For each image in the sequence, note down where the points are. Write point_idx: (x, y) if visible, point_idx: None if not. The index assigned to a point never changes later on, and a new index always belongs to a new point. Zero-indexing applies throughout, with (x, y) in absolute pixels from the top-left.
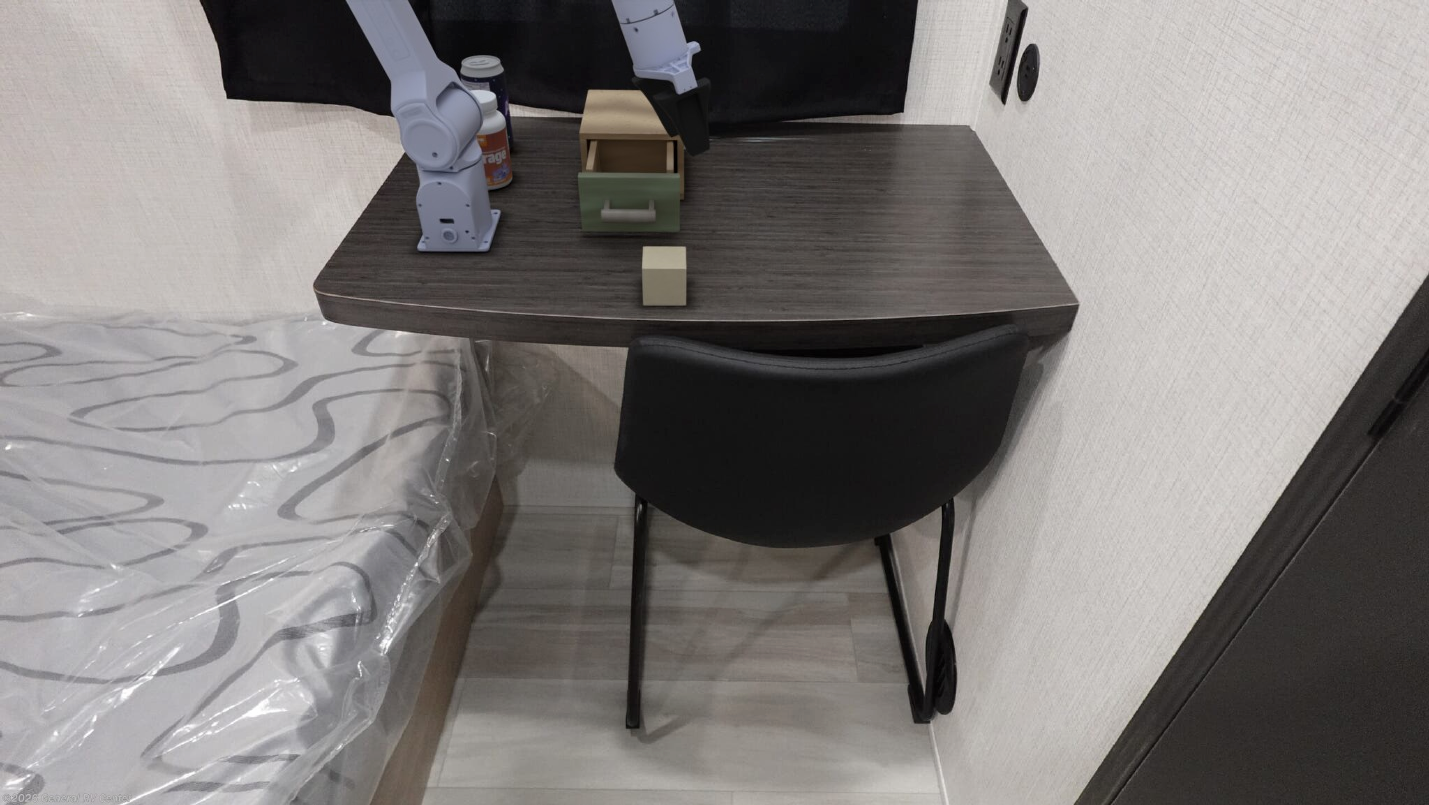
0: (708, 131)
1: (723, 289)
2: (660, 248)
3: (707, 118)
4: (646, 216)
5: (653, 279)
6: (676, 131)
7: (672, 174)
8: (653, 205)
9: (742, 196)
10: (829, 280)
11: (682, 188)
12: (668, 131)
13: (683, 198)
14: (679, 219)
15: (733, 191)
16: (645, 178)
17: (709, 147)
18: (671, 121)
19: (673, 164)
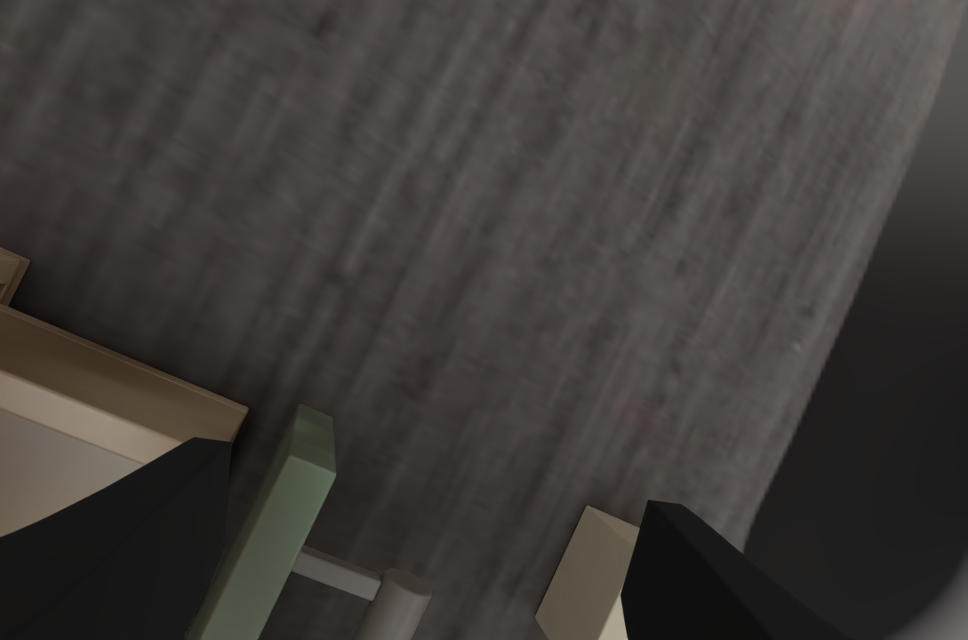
0: (740, 554)
1: (660, 416)
2: (615, 635)
3: (815, 613)
4: (416, 627)
5: None
6: (219, 522)
7: (291, 494)
8: (339, 569)
9: (110, 22)
10: (750, 109)
11: (7, 264)
12: (209, 580)
13: (28, 261)
14: (333, 428)
15: (46, 30)
16: (263, 624)
17: (686, 508)
18: (189, 580)
19: (150, 428)
